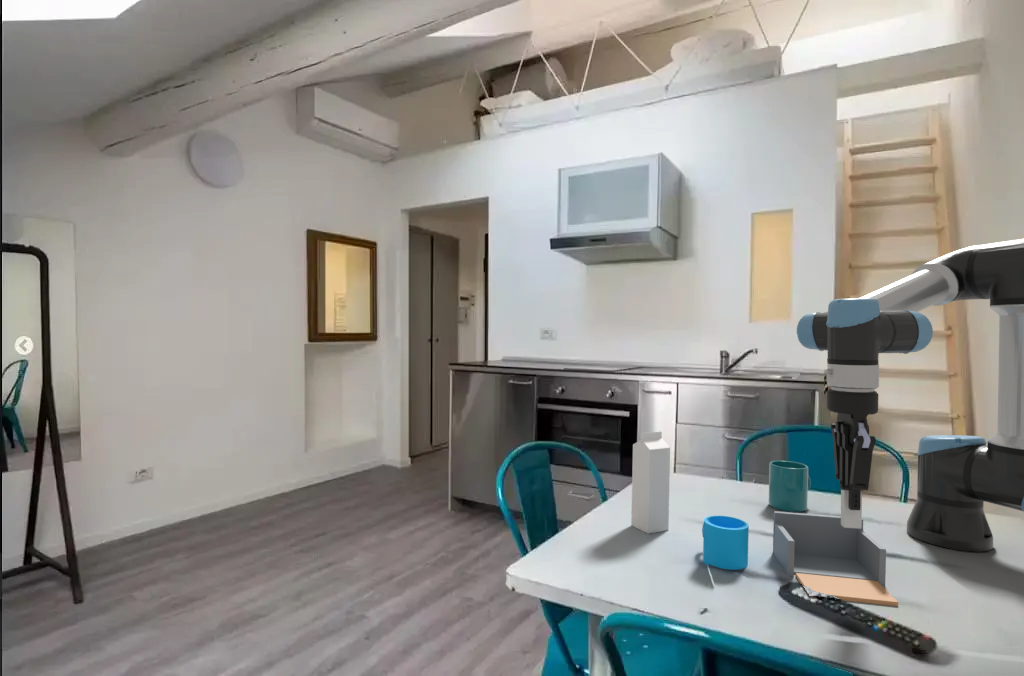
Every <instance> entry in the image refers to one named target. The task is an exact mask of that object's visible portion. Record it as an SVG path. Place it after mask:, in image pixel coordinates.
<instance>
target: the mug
mask: <svg viewBox="0 0 1024 676" xmlns="http://www.w3.org/2000/svg"><path fill="white" fill-rule="evenodd" d="M701 533H702V537H703V542H702V544H703V551H702V563H704V565H705V566H707V567H708V568H709V567H710V565H711V566H714V567H716V568H719V569H722V570H723V569H724V570H725V569H726V570H734V571H735V570H743V569H746V568H748V565H749V536H750V535H749V533H750V531H749V523H747V522H746V521H745V520H743V519H741V518H737V517H733V516H730V515H709V516H705V517H704V518H703V523H702V527H701Z"/></svg>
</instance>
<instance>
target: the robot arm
mask: <svg viewBox="0 0 1024 676" xmlns="http://www.w3.org/2000/svg"><path fill="white" fill-rule="evenodd" d="M967 300H989V308H990V309H991V310H993V311H994V312H995V313H996V314H997V315H998V316H999V321H998V322H999V324H998V327H999V331H998V376H997V377H998V381H997V384H998V385H997V388H998V389H997V432H995V434H994V435H992V436H991V437H989V438H988V439H987V441H986V439H985V437H984V436H983V437H982V436H979V435H977V436H976V435H960V434H959V435H955V434H954V435H953V434H951V435H950V434H941V435H940V434H937V435H933V434H932V435H927V436H923V437H921V438H920V440H919V442H918V449H917V450H918V451H917V453H916V456H917V484H916V486H917V489H916V490H917V491H916V492H917V493H916V501H915V503H914V505H913V507H912V509H911V512H910V514H909V516H908V519H907V521H906V533H907V534H909V535H910V536H911V537H913V538H914V539H917V540H919V541H922V542H924V543H927V544H929V545H933V546H937V547H941V548H946V549H952V550H958V551H964V552H988V551H991V550H993V549H994V536H993V533H992V530H991V527H990V523H989V522H988V518H987V516H986V513H985V511H984V510H985V509H984V502H985V503H989V504H992V505H993V504H994V505H998V506H1001V507H1005V508H1009V509H1013V510H1017V511H1020V512H1023V513H1024V238H1020V239H1012V240H1006V241H999V242H998V241H997V242H991V243H984V244H983V243H981V244H975V245H970V246H967V247H964V248H960V249H957V250H954V251H952V252H949V253H946V254H944V255H942V256H939V257H937V258H935V259H932V260H930V261H927V262H926V263H924V264H921V265H919V266H917V267H916V268H915V269H914V270H913V271H912V273H911V275H907V276H906V277H904V278H901V279H899V280H897V281H895V282H891V283H890V284H888V285H886V286H883V287H881V288H879V289H876V290H875V291H872V292H870V293H868V294H866V295H863V296H860V297H857V298H856V297H854V298H836V299H832V300H830V301H829V303H828V308H827V311H826V312H825V311H824V312H820V311H817V312H812V313H811V312H810V313H806V314H805V315H803V316H802V317H801V318H800V319H799V320H798V323H797V326H796V334H797V340H798V341H799V343H800V344H801V346H802V347H804V348H805V349H809V350H816V351H820V352H823V351H827V358H826V359H827V360H826V362H827V364H826V367H827V369H824V370H823V374H824V375H826V378H827V379H826V384H827V387H831V388H829V389H827V391H826V409H827V410H828V411H829V412H832V413H835V414H836V413H837V414H836V415H837V416H836V421H835V423H831V424H830V430H831V434H832V435H831V436H832V442H833V457H834V458H833V459H834V469H835V470H834V471H835V479H836V480H839V485H840V486H839V487H840V516H841V525H842V526H843V527H844V528H860V529H862V519H863V517H862V516H863V515H862V513H863V511H862V510H863V509H862V508H863V503H862V502H863V491H868V490H869V487H870V476H871V469H872V460H873V459H872V458H873V451H874V448H875V445H876V441H877V439H876V437H875V436H874V435H870V426H869V423H868V418H867V417H868V416H869V415H870V416H871V415H876V414H877V413H878V412H879V393H878V391H876V389H878V388H879V386H880V364H879V357H880V356H879V355H880V354H905V355H906V354H909V353H915V352H919V351H921V350H924V349H925V348H927V346H928V345H929V344H930V343H931V342H932V341H931V340H932V338H933V334H934V331H933V329H934V328H933V324H932V322H931V321H930V319H929V318H928V317H927V316H926V315H925V314H923V313H921V312H920V311H922V310H924V309H927V308H929V307H931V306H933V307H934V306H935V307H936V306H937V307H939V306H940V307H941V306H944V305H947V304H950V303H953V302H956V301H967Z"/></svg>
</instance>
